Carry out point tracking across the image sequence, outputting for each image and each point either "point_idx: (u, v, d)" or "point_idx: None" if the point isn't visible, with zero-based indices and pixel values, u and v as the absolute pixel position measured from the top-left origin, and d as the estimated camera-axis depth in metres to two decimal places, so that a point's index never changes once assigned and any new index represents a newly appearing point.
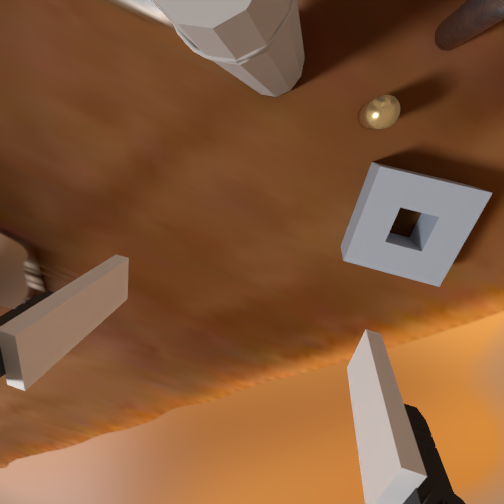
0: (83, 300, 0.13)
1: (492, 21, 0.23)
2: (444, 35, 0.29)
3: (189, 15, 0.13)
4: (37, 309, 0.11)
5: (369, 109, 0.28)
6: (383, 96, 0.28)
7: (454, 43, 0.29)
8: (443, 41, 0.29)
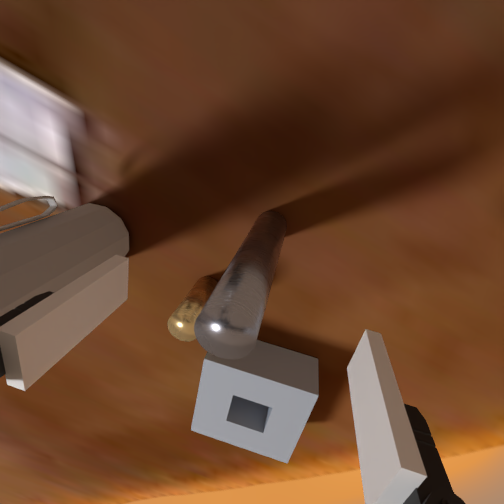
0: (83, 300, 0.13)
1: None
2: None
3: None
4: (37, 309, 0.11)
5: (168, 323, 0.26)
6: (179, 315, 0.25)
7: None
8: None
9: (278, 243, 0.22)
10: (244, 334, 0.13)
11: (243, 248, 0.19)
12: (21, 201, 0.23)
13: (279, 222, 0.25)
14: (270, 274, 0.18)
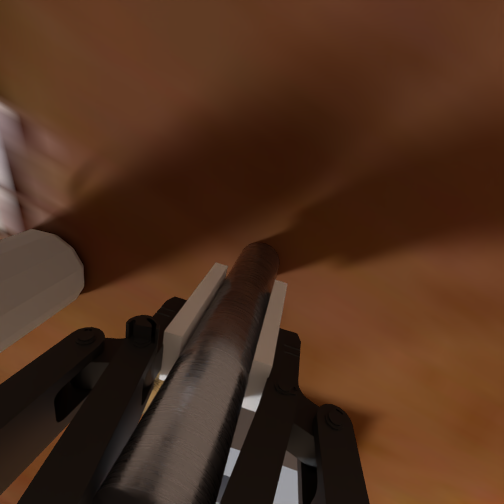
0: (206, 305, 0.14)
1: None
2: None
3: None
4: (184, 313, 0.12)
5: None
6: None
7: None
8: None
9: (265, 297, 0.16)
10: None
11: (210, 314, 0.13)
12: None
13: (268, 260, 0.19)
14: (247, 363, 0.11)
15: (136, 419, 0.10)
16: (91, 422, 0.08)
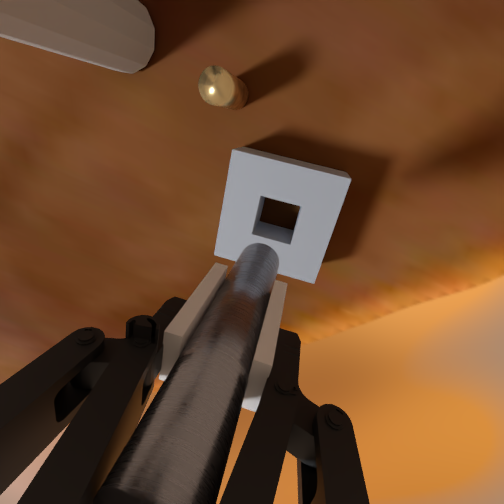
0: (207, 305, 0.14)
1: None
2: None
3: None
4: (184, 313, 0.12)
5: (199, 82, 0.25)
6: (211, 67, 0.24)
7: None
8: None
9: (264, 297, 0.16)
10: None
11: (210, 314, 0.13)
12: None
13: (268, 261, 0.19)
14: (247, 363, 0.11)
15: (136, 419, 0.10)
16: (91, 422, 0.08)
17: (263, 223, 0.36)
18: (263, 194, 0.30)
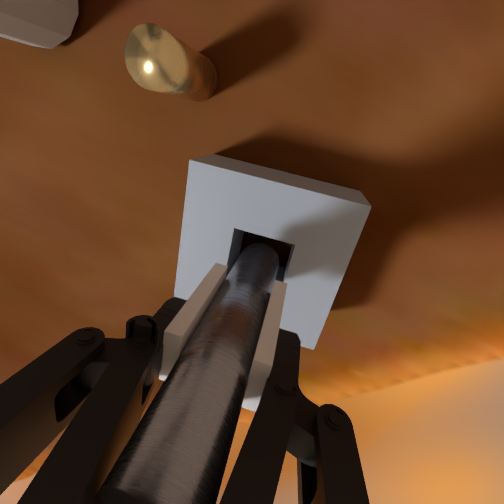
0: (207, 305, 0.14)
1: None
2: None
3: None
4: (184, 313, 0.12)
5: (126, 53, 0.15)
6: (142, 26, 0.15)
7: None
8: None
9: (264, 297, 0.16)
10: None
11: (210, 314, 0.13)
12: None
13: (268, 261, 0.19)
14: (247, 364, 0.11)
15: (136, 419, 0.10)
16: (91, 422, 0.08)
17: None
18: (238, 226, 0.20)
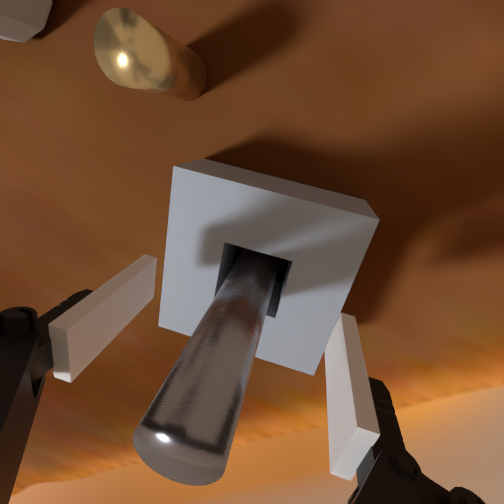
0: (119, 298, 0.13)
1: None
2: None
3: None
4: (82, 306, 0.12)
5: (96, 43, 0.13)
6: (113, 11, 0.13)
7: None
8: None
9: (269, 281, 0.17)
10: (207, 456, 0.09)
11: (222, 294, 0.15)
12: None
13: None
14: (255, 335, 0.13)
15: (31, 413, 0.10)
16: None
17: None
18: (229, 240, 0.18)
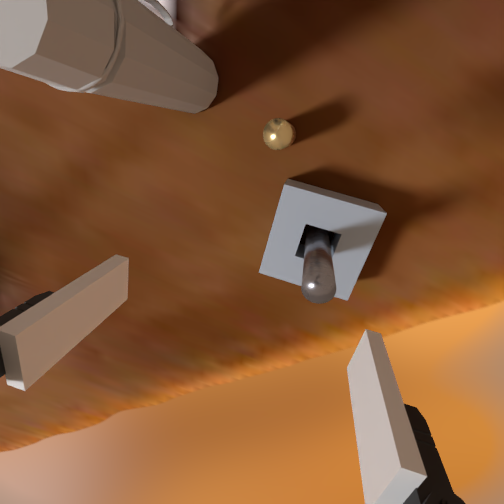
0: (83, 300, 0.13)
1: None
2: None
3: None
4: (37, 309, 0.11)
5: (264, 131, 0.30)
6: (275, 119, 0.29)
7: None
8: None
9: (329, 244, 0.34)
10: (329, 288, 0.25)
11: (312, 246, 0.31)
12: (155, 0, 0.27)
13: (326, 230, 0.37)
14: (332, 261, 0.30)
15: None
16: None
17: (300, 245, 0.40)
18: (308, 222, 0.34)
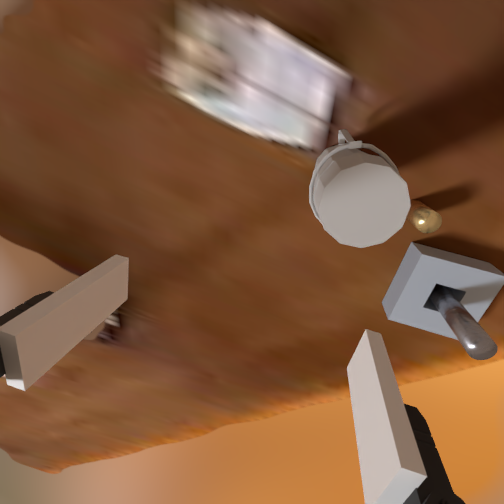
0: (83, 300, 0.13)
1: None
2: None
3: (348, 240, 0.23)
4: (37, 309, 0.11)
5: (418, 219, 0.38)
6: (429, 212, 0.37)
7: None
8: None
9: None
10: (491, 349, 0.33)
11: (452, 306, 0.40)
12: (345, 130, 0.35)
13: None
14: None
15: None
16: None
17: None
18: (438, 282, 0.43)
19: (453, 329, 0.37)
